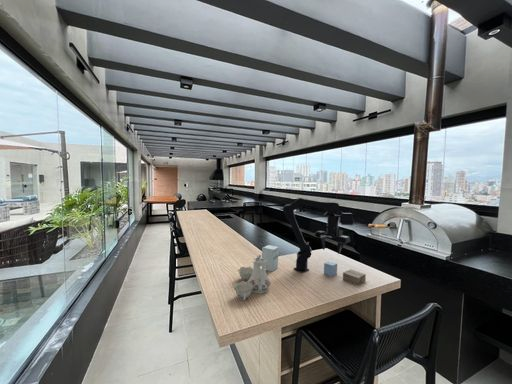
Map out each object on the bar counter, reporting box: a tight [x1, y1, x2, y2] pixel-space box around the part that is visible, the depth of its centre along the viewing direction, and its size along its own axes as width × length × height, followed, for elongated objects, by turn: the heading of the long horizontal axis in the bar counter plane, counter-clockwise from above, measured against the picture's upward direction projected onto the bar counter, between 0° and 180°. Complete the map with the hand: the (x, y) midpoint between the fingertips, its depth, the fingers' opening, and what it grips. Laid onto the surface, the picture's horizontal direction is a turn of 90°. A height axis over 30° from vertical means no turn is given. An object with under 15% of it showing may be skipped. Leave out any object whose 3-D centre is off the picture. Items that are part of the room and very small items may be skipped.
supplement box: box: [261, 244, 279, 272], centre depth 125 cm, size 7×7×13 cm
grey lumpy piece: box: [233, 254, 271, 302], centre depth 100 cm, size 28×17×17 cm, turn 4°
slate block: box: [323, 260, 338, 277], centre depth 121 cm, size 5×5×6 cm
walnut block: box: [342, 268, 367, 286], centre depth 113 cm, size 8×8×4 cm
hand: (331, 251), depth 122 cm, fingers open, 9 cm apart
